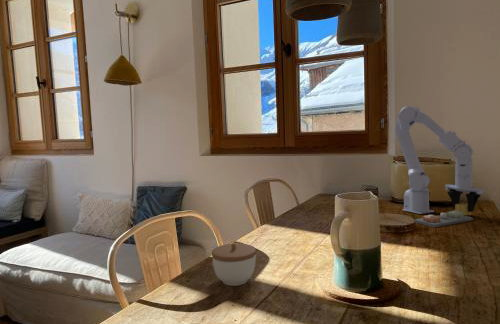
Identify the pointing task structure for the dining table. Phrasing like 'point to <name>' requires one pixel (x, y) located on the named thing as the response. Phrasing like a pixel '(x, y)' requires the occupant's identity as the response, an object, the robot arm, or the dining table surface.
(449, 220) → the gear board
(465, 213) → the loose gear
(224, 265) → the lidded jar
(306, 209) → the dining table surface
